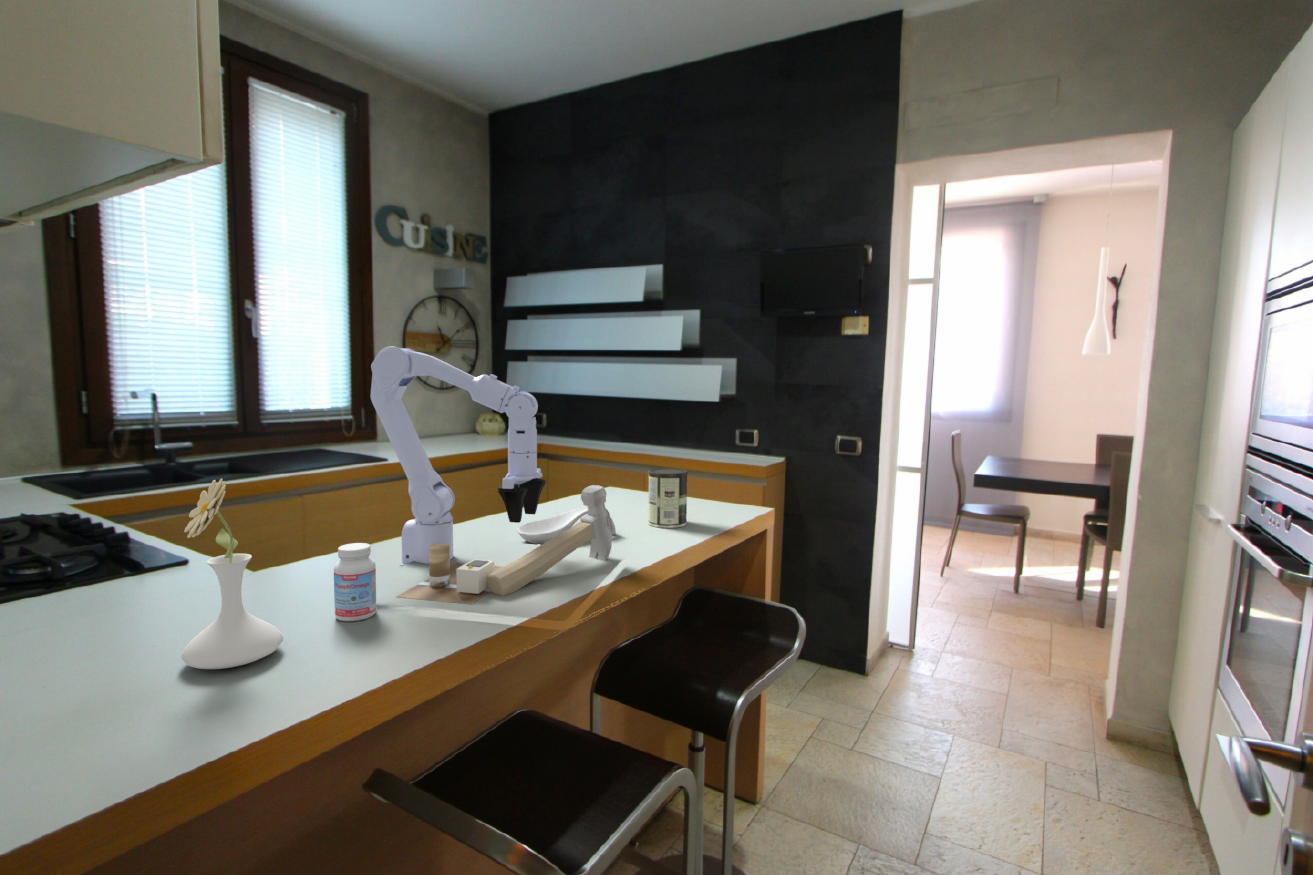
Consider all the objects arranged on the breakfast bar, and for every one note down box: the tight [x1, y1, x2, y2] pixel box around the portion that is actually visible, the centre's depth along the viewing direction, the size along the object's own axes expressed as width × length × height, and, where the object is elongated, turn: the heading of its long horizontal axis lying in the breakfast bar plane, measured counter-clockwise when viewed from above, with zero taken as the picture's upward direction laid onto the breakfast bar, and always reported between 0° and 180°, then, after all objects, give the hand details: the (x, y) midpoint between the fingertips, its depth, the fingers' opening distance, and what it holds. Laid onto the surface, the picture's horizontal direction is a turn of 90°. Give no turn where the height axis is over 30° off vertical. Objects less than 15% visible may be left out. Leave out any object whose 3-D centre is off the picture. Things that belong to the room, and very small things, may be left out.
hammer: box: [486, 484, 613, 596], centre depth 120 cm, size 16×5×30 cm
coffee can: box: [647, 467, 689, 529], centre depth 167 cm, size 10×10×14 cm
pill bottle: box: [333, 542, 377, 622], centre depth 101 cm, size 6×6×11 cm
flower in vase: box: [181, 478, 284, 670], centre depth 84 cm, size 13×11×25 cm
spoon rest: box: [516, 506, 617, 546], centre depth 151 cm, size 24×12×7 cm, turn 120°
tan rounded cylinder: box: [428, 544, 451, 588], centre depth 112 cm, size 3×3×7 cm
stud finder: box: [456, 558, 495, 594], centre depth 111 cm, size 4×6×4 cm, turn 168°
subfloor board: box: [395, 562, 503, 605], centre depth 115 cm, size 14×20×1 cm
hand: (522, 517), depth 130 cm, fingers open, 7 cm apart
